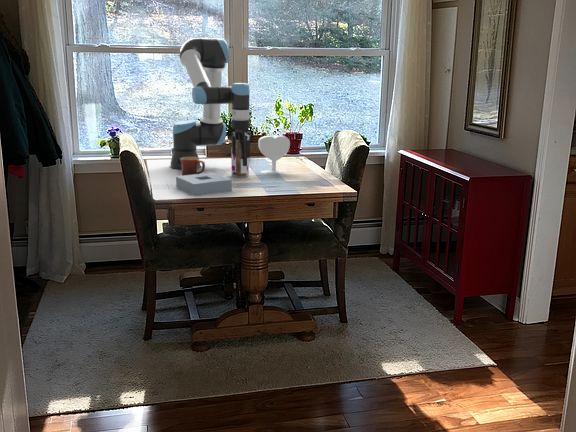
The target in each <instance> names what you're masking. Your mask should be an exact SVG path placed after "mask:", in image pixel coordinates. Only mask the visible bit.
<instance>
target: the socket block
mask: <svg viewBox="0 0 576 432" xmlns="http://www.w3.org/2000/svg"><path fill="white" fill-rule="evenodd" d="M175 188H176V189H179V190H181V191H183V192H185V193H188V194H190V195H192V196H193V197H196V196H203V195H210V194H211V195H212V194H219V193H227V192H232V190H233V180H232V178H228V177H226V176H223V175H220V174H218V173H215V172H204V173H203V172H202V173H200V174H193V175H184V176H182V175H177V176H175Z"/></svg>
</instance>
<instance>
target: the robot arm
mask: <svg viewBox="0 0 576 432" xmlns="http://www.w3.org/2000/svg"><path fill="white" fill-rule="evenodd" d="M230 55H231V54H230V50H229V45H228V43H227V40H226V39H224V38H219V37H218V38H214V37H208V38H207V37H194V38H193V37H192V38H190V39H188V40H186V41H185V42H184V43H183V44H182V46H181V48H180V50H179V59H180V62H181V64H182V65H183V66H184V67H185V69H186V71H187V74H188V76H189V79H190V81H191V83H192V86H193V88H192V91H191V98H192V102H193V103H194V104H195V105H203V107H202V110H203V111H202V116H201V117H200V119H199V122H197V121H196V120H193V119H190V120H189V119H188V120H182V121H181V120H180V121H178V122H175V123H174V124H173V125H172V137H173V138H172V139H173V140H172V141H173V143H172V145H173V154H172V155H171V156H172V157H171V161H170V168H172V169H177V170H182V164H181V161H180V158H182V157H198V158H199V155H198V152H197V147H199V146H200V147H202V146H203V147H204V146H213V147H214V146H218V145H219V146H220V145H222V144H223V143H224V142H225V140H226V136H227V125H226V123H225V122H224V121H223V118H222V117H221V105H226V104H228V105H231V110H232V112H231V115H232V116H231V117H232V121H231V123H232V124H231V127H232V129H234V130H233V132H231V133H230V134H231V135H230V136H231V148H232V154H234V156H235V171H236V140H239V143H241V154H242V158H241V173H247V158H249V159H250V158H251V139H252V135H251V134H249V133H248V129H250V118H251V117H250V93H251V90H250V85H249V83H246V82H234V83H232V85H228V86H222V78H223V77H222V74H223V70H225V68H226V64H228V63H229V62H230ZM243 140H244V141H243ZM200 167H201V162H199V163H198V168H200Z"/></svg>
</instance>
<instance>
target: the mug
mask: <svg viewBox="0 0 576 432" xmlns="http://www.w3.org/2000/svg"><path fill="white" fill-rule="evenodd" d="M180 161H181V164H182V169H181V176H184V175H193V174H203V172H204V171H205V168H206V164H205V161H203V160H200V158H199V156H198V157H182V158H180ZM199 162H200V164H201V165H202V166H201V170H200V171H199V169H198V163H199Z"/></svg>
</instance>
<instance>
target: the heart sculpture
mask: <svg viewBox="0 0 576 432" xmlns="http://www.w3.org/2000/svg"><path fill="white" fill-rule="evenodd" d="M257 145H258V150H259V151H260V152H261V154H262V155H263V156H265V158H267V159H269V160H270V161H271V169H267V170H261V171H260V173H261V174H269V173H270V174H272V173H273V174H274V173H287V171H288V170H283V169H277V161H278V160H280V159H282V158H284V156H286V155H287V153H288V151H289V150H290V146H291V141H290V139H289V138H288V137H287V136H284V135H276V136H271V135H264V136H261V137H260V138H258V142H257Z"/></svg>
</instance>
